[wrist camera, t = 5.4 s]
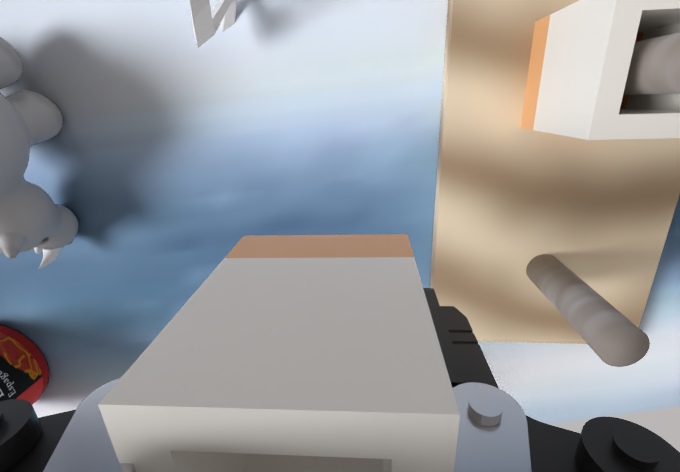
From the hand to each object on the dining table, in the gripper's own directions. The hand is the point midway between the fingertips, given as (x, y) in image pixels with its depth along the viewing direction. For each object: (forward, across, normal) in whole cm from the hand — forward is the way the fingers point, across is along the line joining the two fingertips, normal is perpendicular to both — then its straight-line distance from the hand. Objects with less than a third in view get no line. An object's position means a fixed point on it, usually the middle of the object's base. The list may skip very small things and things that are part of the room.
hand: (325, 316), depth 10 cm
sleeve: (+1, 0, 0) cm, 1 cm away
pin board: (+12, -11, -1) cm, 16 cm away
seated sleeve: (+11, -11, -6) cm, 17 cm away
